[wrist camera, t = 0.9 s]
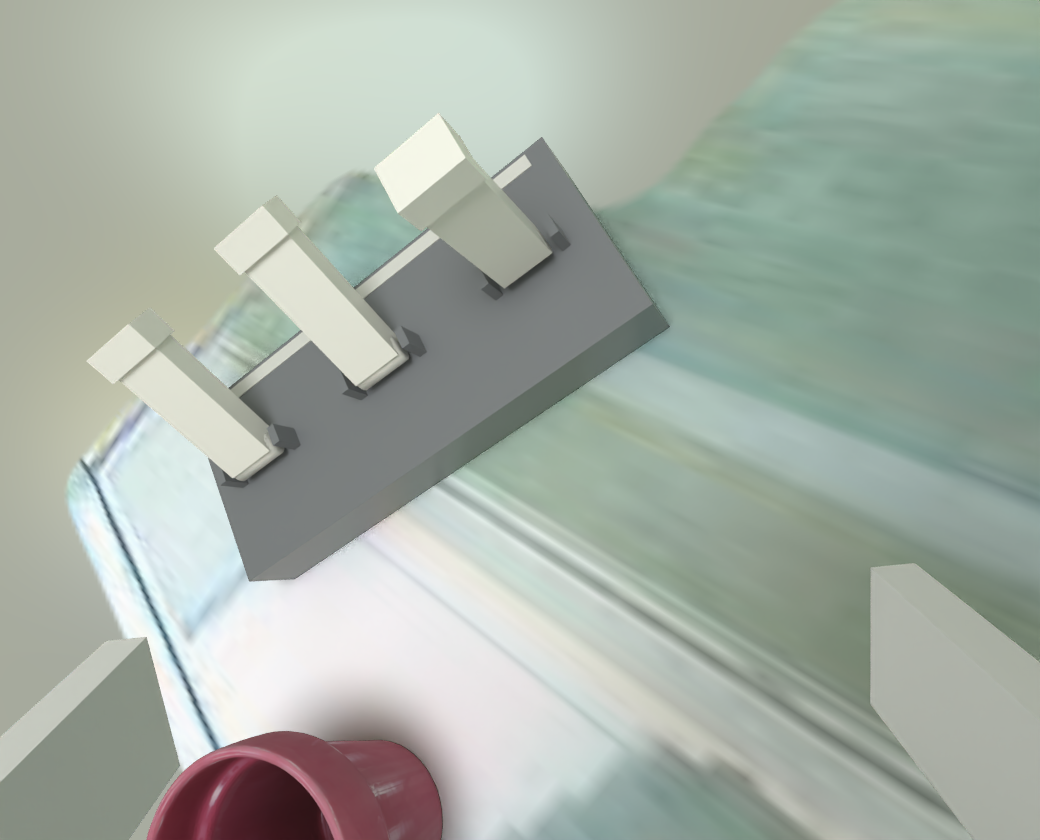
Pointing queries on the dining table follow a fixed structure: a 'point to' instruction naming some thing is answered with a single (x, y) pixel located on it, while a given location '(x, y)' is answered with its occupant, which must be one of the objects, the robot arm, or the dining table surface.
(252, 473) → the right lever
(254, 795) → the plant pot
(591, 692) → the dining table surface
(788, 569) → the dining table surface
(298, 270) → the middle lever
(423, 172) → the lever
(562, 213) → the breaker panel
